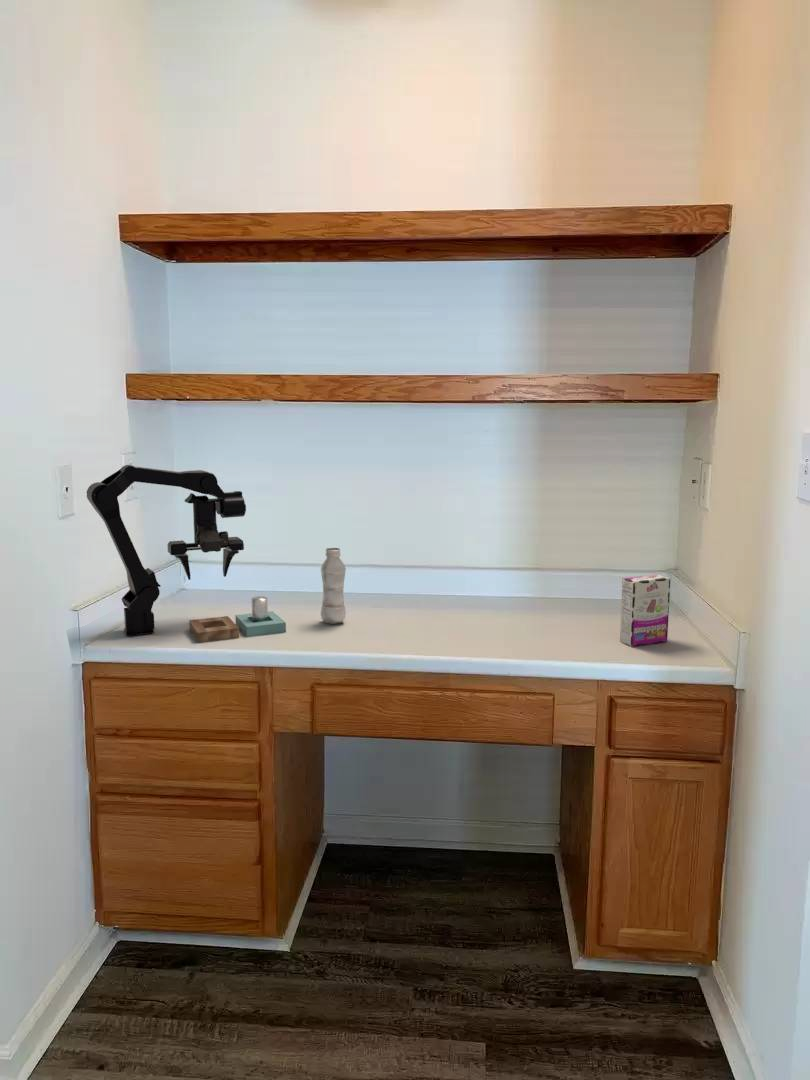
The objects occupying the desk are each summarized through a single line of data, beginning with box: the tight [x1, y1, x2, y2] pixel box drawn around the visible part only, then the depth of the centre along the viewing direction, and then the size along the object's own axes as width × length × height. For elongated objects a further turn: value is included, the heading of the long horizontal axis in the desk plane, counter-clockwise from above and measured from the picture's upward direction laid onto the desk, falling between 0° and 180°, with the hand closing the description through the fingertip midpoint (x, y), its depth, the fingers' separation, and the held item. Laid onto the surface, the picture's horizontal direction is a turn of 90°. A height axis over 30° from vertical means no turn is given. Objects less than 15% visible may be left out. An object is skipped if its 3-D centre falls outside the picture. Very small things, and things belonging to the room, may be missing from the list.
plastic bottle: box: [320, 547, 347, 624], centre depth 208 cm, size 6×7×20 cm
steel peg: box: [251, 595, 269, 623], centre depth 203 cm, size 4×4×8 cm
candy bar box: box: [619, 574, 671, 647], centre depth 194 cm, size 11×5×16 cm, turn 112°
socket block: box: [188, 615, 240, 644], centre depth 199 cm, size 10×12×2 cm
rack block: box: [235, 611, 287, 638], centre depth 204 cm, size 10×12×2 cm
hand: (207, 578), depth 207 cm, fingers open, 9 cm apart
